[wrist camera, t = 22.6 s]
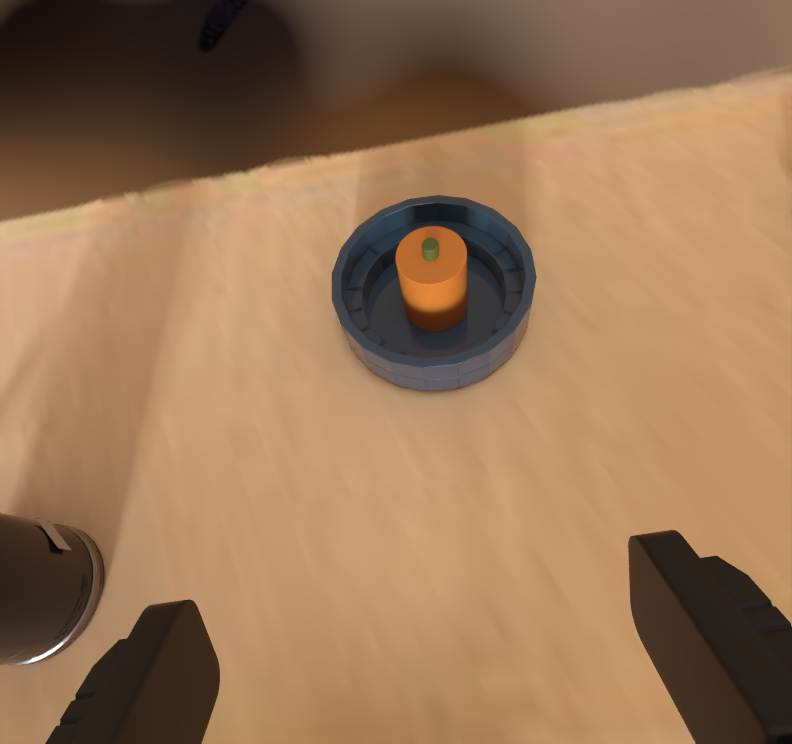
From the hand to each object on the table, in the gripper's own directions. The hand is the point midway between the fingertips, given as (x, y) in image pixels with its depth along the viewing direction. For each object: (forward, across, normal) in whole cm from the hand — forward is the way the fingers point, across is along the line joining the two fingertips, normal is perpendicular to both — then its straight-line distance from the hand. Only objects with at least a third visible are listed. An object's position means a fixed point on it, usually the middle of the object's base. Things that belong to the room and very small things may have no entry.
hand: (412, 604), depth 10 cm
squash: (+36, -3, +3) cm, 37 cm away
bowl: (+37, -2, +4) cm, 37 cm away
